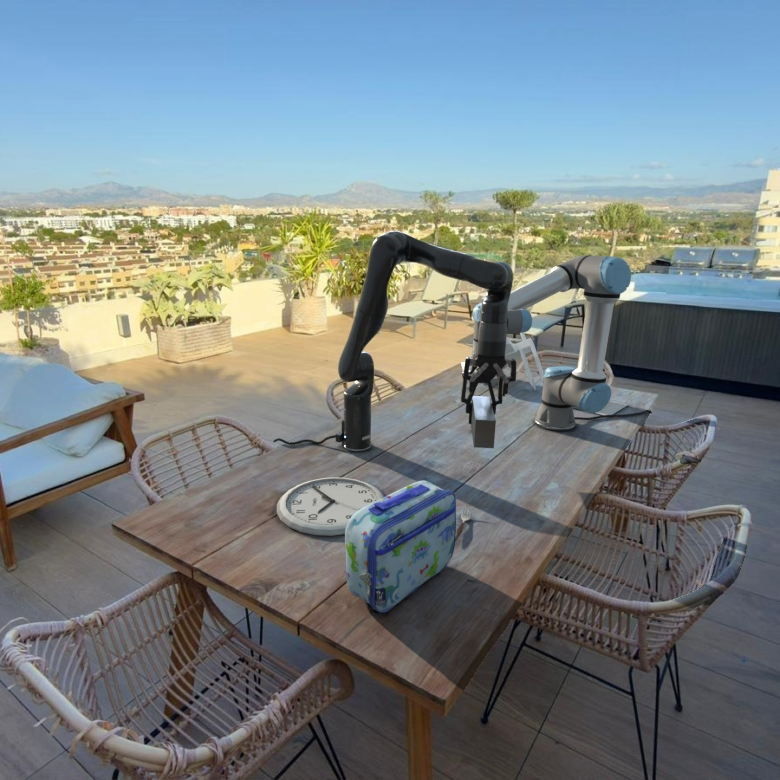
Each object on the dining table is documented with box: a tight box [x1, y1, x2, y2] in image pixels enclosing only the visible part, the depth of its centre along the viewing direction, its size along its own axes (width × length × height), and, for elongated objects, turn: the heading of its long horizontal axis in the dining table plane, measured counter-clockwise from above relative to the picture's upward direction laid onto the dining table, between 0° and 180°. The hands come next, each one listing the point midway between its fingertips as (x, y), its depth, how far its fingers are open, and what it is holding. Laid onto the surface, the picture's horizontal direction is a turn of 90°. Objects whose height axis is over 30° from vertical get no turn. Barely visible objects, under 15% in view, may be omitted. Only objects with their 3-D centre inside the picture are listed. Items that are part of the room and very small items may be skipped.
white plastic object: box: [460, 332, 545, 391], centre depth 259 cm, size 37×45×31 cm
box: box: [470, 395, 497, 449], centre depth 163 cm, size 22×6×9 cm, turn 174°
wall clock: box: [276, 476, 386, 537], centre depth 142 cm, size 30×2×30 cm
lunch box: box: [344, 480, 457, 614], centre depth 109 cm, size 26×11×21 cm, turn 135°
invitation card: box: [573, 399, 629, 416], centre depth 226 cm, size 21×1×15 cm
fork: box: [455, 504, 474, 543], centre depth 133 cm, size 3×16×2 cm, turn 160°
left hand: (488, 394), depth 146 cm, fingers open, 8 cm apart
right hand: (479, 422), depth 172 cm, fingers closed on box, 6 cm apart
